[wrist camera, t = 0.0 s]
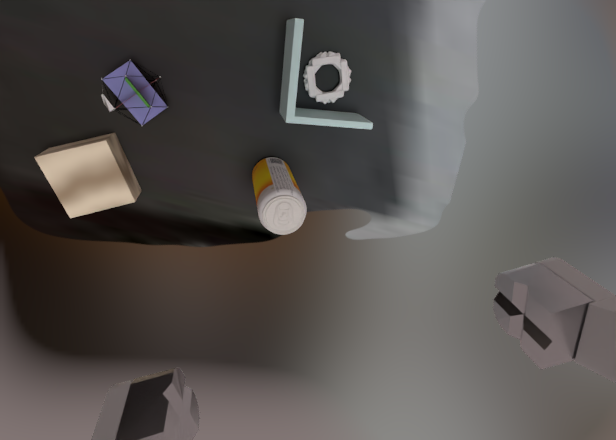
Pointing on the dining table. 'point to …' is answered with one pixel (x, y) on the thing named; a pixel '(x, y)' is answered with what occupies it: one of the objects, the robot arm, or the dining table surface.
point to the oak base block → (90, 175)
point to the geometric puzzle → (134, 93)
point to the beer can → (278, 196)
